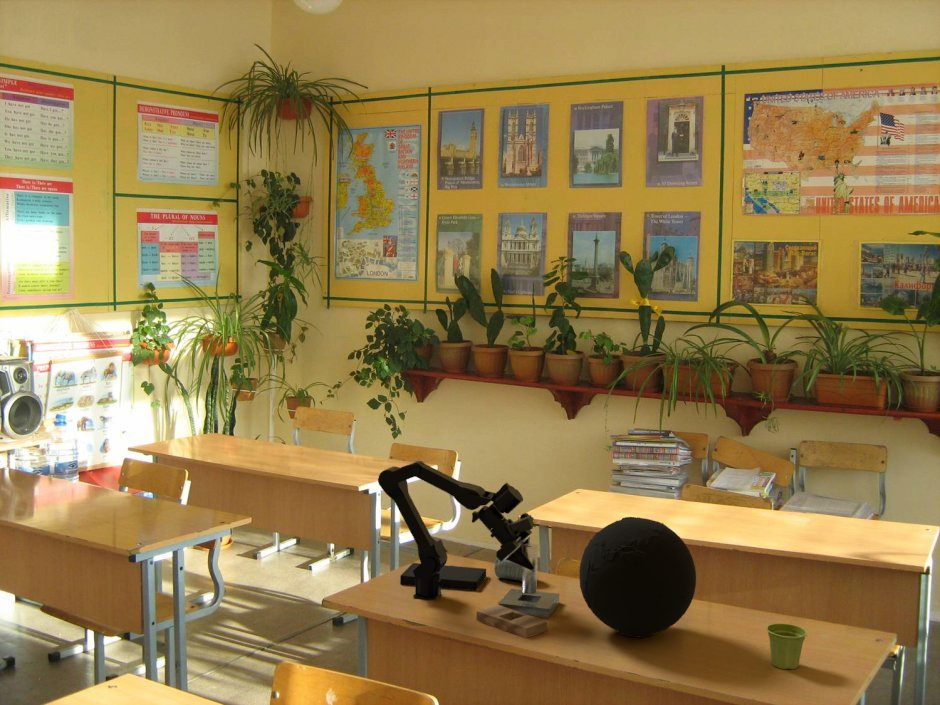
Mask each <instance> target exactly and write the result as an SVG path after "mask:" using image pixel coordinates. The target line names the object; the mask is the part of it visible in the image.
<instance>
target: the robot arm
mask: <svg viewBox="0 0 940 705" xmlns="http://www.w3.org/2000/svg"><path fill="white" fill-rule="evenodd" d="M415 477H416V478H418V479H420V480H421V481H423V482H425V483H427V484H429V485H431V486H433V487H435V488H437V489H438V490H441V491H443V492H445V493H447V494H448V495H450V496H452V497H453V499H455V500H456V502H457V503H458V504H460V505H461V506H463V507H464V508H465V509H467V510H469V511H473V512H472V513H471V515H472V516H471V517H472V518H471V523H473V524H475V523H476V522H477V521H478V520H479V521H480V522H481V523H482V524H483V525H484V527H485V528H487V530H488V531H489V532H490V533H491V534H490V535H489V536H490V537H491V538H492V539H494V538H495V540H497V541H498V543H500V545H499V547H500V548H499V549H498V550H497V551H496V555H495V556H496V558H498V559H499V560H500V561H502V560H504V559H505V558H506V557H507V556H508V555H509V556H508V557H507V558H506V560H509V561H511V562H514V563H516V564H518V565H521V566H523V567H525V568H527V569H529V570H533V569H534V566H533V565H532V563H531V562H530V560H529V559H528V557H527V556H526V554H525V553H524V551H523V545H524V544H531V542H530V541H531V536H530V535H532V534H533V532H532V531H531V530H533V529H534V528H535V527H536V525H535V523H534V519H535V518H534V517H533V516H532V515H531V514H529V513H528V512H524V513H522V514H520V515H519V518H518V519H517V520H515V521H513V519H512V518H508V519H507V518H506V517H505V516H504V515H503V514H507V515H508V514H510V513H511V512H512V511H513V510H515V508H517V507H518V506H519V505H520V504H521V503H522V502H523V501H524V497H523V494H521V492H520V491H519V490H518V489H516V488H515V487H513V485H510V483H508V482H506V483H504V484H503V485H502V486H501V487H500V488H499V490H498V491H497V492H493V491H489V490H485V488H483V487H482V486H480V485H476V484H474V483H470V482H464V481H459V480H457V479H456V478H453V477H452V476H449V475H447V474H446V473H443V472H442V471H440V470H438V469H436V468H434V467H432V466H430V465H429V464H426V463H425V462H424V461H422V460H415V461H414V462H412V463H409V464H407V465H403V466H401V467H399V466H394V465H393V466H391V467H388V468H387V469H384V470H382V471H381V472H380V473H379V475H378V478H377V481H378V482H377V483H378V485H379V487H380V488H381V489H382V491H383V492H384V494H385V495H387V496H388V497H389V498H390V499H392V501H393V502H394V503H395V505H396V507H397V509H398V511H399V513H400V515H401V517H402V518H403V520H404V523H405V525H406V526H407V528H408V530H409V532H410V534H411V536H412V538H413V540H414V541H415V543H416V545H417V546H416V547H417V553H418V559H419V562H420V565H419V566H418V567H417V568H415V569H414V570H413V572H414V575H415V578H416V584H415V588H414V590H415V593H414V594H413V598H418V599H425V600H426V599H427V600H436V599H437V598H438V597H439V596H440V595H441V594H442V588H441V579H440V574H437V573H438V572H439V571H440V569H441V567H443V566H444V565H445V566H446V564H447V561H448V554H447V553H448V550H447V549H446V547H445V546H444V543H443V541H442V539H439V540H437V539H436V540H435V539H434V538H433V537H432V535H431V533H430V531H429V530H428V528H427V526H426V524H425V522H424V521H423V519H422V517H421V515H420V512H419V511H418V508H417V507H416V505H415V503H414V501H413V499H412V497H411V496H410V495H411V494H410V493H409V487H408V481H407V480H409V479H412V478H415ZM491 502H492V503H491ZM489 503H491V504H489ZM488 504H489V506H488ZM481 506H482V507H481ZM480 507H481V508H480ZM479 508H480V509H479ZM477 509H479V510H478V511H476V510H477ZM474 510H475V511H474ZM537 564H538V562H537ZM538 565H539V564H538Z"/></svg>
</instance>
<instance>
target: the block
mask: <svg viewBox="0 0 940 705" xmlns="http://www.w3.org/2000/svg"><path fill="white" fill-rule="evenodd" d="M559 604H560V593H556V592H555V593H554V592H547V591H537V592H536V593H534V594H527V593H523V592H522V589H518V588H511V589H510V590H508V592H506V594H505V595H504V596H503V598H502V599H501V600H500V601H499V602H498V604H497V605H500V606H503V607H506V608H509V609H512V610H515V611H518V612H521V613H524V614H527V615H530V616H533V617H536V618H546V619H549V618H550V616H551V615H552V614H553V612H554V611H555V609H556V608H557V606H559Z"/></svg>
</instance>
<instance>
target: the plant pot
mask: <svg viewBox="0 0 940 705" xmlns="http://www.w3.org/2000/svg"><path fill="white" fill-rule="evenodd" d="M766 631H767V635H768V639H769V646H770V648H769V649H770V658H771V664H772V665H773V666H774V667H776V668H778V669H781V670H788V669H789V670H790V669H791V670H795V669H798V667H799V664H800V658H801V654H802V649H803V644H804V642H805V639H806V636H807V635H808V631H807V629H805V627H804V628H803V627H801V626H799V625H796V624H792V623H786V622H785V623H783V622H779V623H771V624H768V625H766Z"/></svg>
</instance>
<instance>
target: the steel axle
mask: <svg viewBox="0 0 940 705" xmlns="http://www.w3.org/2000/svg"><path fill="white" fill-rule="evenodd" d="M538 548H539V546H538V544H536V543H529V544H524V545H523V551H524V553H525V554H526V556H527V557H528V559H529V560H530V562H531V563H532V565H533V566H534V569H533V570H529V569H527V568H525V567H523V575H522V581H521V583H522V585H521V590H522V592H523V593H527V594H534V593H536V592H537V589H538V588H537V583H538V582H537V581H538V579H537V578H538V569H537V563H538V554H539V553H538V551H539V549H538Z"/></svg>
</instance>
